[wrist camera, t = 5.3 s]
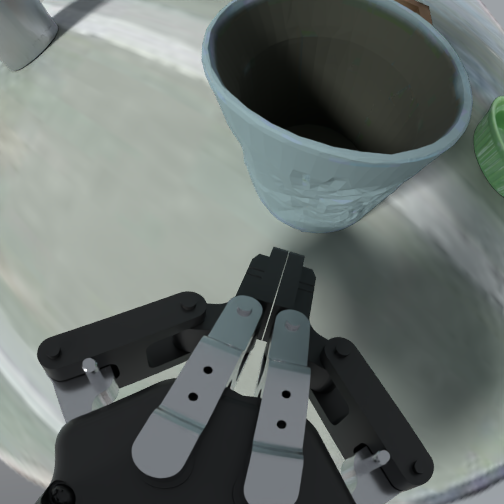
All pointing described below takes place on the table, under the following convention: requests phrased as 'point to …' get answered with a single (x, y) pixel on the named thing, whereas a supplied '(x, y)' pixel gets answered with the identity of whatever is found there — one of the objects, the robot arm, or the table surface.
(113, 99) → the table surface
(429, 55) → the blue-grey plant pot
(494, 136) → the ramekin
